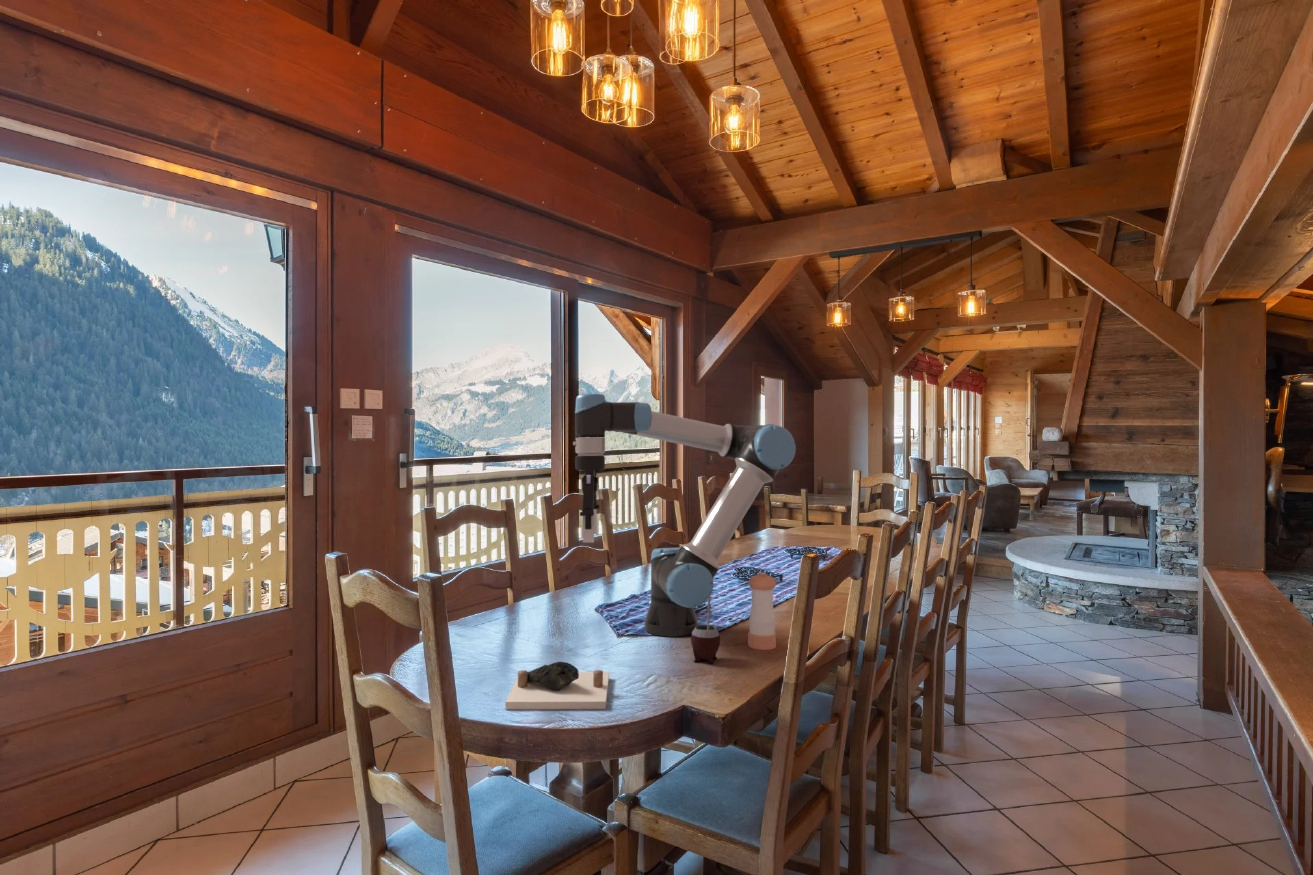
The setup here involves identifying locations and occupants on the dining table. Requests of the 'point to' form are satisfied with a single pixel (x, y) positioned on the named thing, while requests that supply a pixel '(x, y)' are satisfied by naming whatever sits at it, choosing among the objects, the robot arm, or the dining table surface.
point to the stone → (554, 675)
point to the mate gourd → (705, 641)
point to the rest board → (560, 693)
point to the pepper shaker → (762, 613)
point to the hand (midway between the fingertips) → (590, 538)
